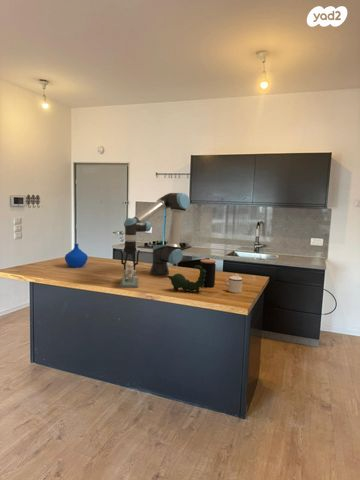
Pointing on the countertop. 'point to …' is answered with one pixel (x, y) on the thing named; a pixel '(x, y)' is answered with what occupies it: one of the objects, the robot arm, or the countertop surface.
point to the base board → (129, 285)
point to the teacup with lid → (234, 284)
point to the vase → (76, 257)
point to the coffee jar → (209, 272)
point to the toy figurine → (185, 284)
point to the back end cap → (132, 275)
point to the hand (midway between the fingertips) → (129, 274)
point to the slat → (129, 271)
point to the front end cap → (128, 281)
